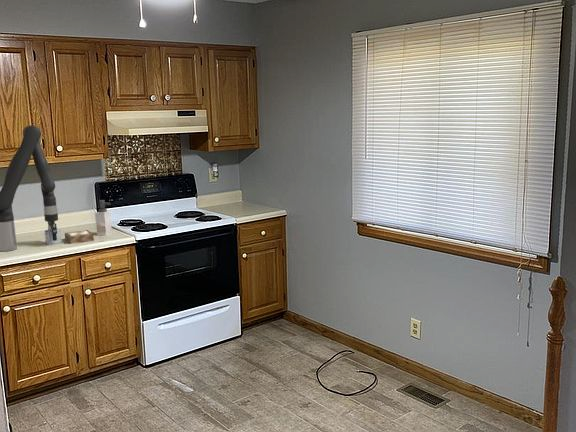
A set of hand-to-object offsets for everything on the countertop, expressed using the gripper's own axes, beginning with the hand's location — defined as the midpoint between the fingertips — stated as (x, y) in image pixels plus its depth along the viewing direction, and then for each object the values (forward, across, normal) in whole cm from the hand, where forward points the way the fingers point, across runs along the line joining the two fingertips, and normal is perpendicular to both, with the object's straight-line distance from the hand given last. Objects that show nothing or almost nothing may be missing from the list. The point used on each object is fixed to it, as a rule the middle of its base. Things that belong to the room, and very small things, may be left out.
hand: (53, 239), depth 349 cm
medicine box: (+3, 0, 0) cm, 3 cm away
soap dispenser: (+3, -6, +33) cm, 34 cm away
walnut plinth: (+3, 0, +15) cm, 15 cm away
